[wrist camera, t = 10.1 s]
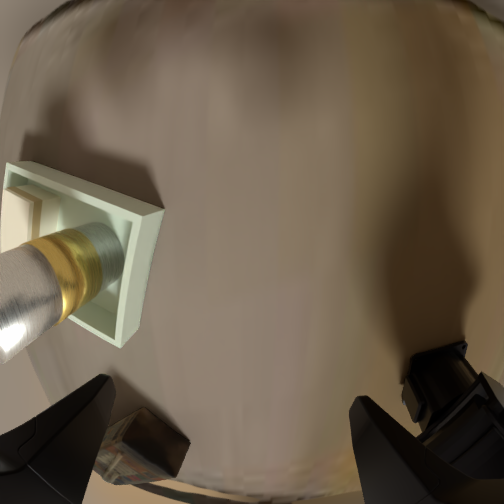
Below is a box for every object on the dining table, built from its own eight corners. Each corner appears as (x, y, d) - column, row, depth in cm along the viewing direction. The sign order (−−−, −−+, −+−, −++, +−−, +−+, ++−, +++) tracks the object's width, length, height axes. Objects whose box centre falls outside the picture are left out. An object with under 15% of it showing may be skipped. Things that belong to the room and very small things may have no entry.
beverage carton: (91, 434, 32) (73, 460, 25) (143, 401, 26) (119, 441, 20) (129, 462, 32) (114, 489, 26) (195, 440, 27) (180, 481, 21)
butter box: (61, 196, 20) (30, 202, 16) (54, 266, 22) (27, 279, 18) (32, 183, 20) (3, 188, 16) (26, 248, 22) (0, 258, 18)
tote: (164, 209, 20) (142, 216, 16) (138, 328, 23) (120, 348, 20) (31, 160, 20) (6, 162, 17) (22, 258, 23) (1, 267, 20)
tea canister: (99, 206, 20) (-37, 246, 7) (137, 264, 21) (16, 349, 8) (66, 245, 21) (-46, 296, 9) (99, 297, 22) (-1, 375, 10)
